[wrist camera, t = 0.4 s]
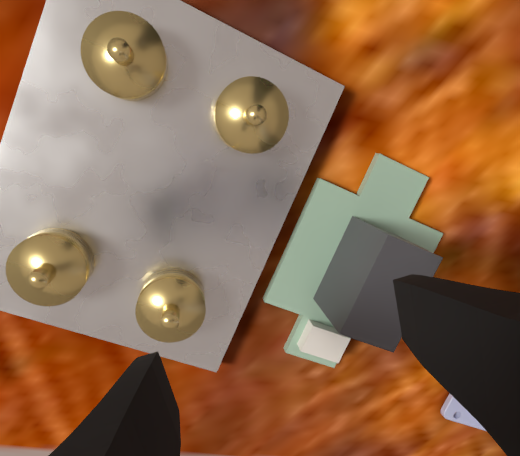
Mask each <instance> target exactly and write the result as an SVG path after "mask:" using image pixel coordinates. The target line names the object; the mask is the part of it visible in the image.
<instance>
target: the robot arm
mask: <svg viewBox="0 0 520 456" xmlns="http://www.w3.org/2000/svg"><path fill="white" fill-rule="evenodd" d="M393 284H394V290H395V297H396V303H397V309H398V315H399V321H400V327H401V333H402V339H403V340H404V342H405V343H406V344H407V346H408V347H409V349H410V350H411V351H412V353H413V354H414V355H415V357H416V358H417V359H418V360H419V362H420V363H421V364H422V365H423V366H424V368H425V369H426V370H427V371H428V372H429V373H430V374H431V375H432V376H433V377H434V378H435V379H436V380H437V381H438V382H439V383H440V384H441V385H442V386H443V387H444V388H445V389H446V390H447V391H448V392H449V393H450V394H449V395H448V397H447V399H446V401H445V403H444V404H443V406H442V408H441V414H442V415H443V416H444V418H446V419H448V420H451V421H454V422H458V423H461V424H464V425H468V426H471V427H474V428H478V429H481V430H484V431H487V432H488V433H489V434H490V435H491V436H492V438H493V439H494V440H495V441H496V442H497V444H498V445H499V446H500V447H501V449H502V450H503V451H504V452H505V453H506V455H507V456H520V293H516V292H509V291H503V290H496V289H490V288H485V287H479V286H474V285H469V284H464V283H459V282H454V281H450V280H445V279H440V278H435V277H429V276H423V275H415V274H411V275H407V276H404V277H401V278H398V279H394V280H393ZM455 412H456V413H455ZM180 447H181V439H180V418H179V409H178V406H177V403H176V400H175V397H174V395H173V392H172V389H171V386H170V383H169V381H168V378H167V375H166V372H165V369H164V367H163V364H162V361H161V358H160V355H159V352H158V351H157V352H154V353H151V354H148V355H144V356H141V357H138V358H136V359H135V360H134V361H133V362H132V364H131V365H130V366H129V367H128V368H127V369H126V371H125V372H124V373H123V374H122V376H121V377H120V378H119V379H118V381H117V382H116V383H115V384H114V385H113V387H112V388H111V389H110V390H109V391H108V393H107V394H106V395H105V396H104V398H103V399H102V400H101V401H100V402H99V404H98V405H97V406H96V407H95V408H94V409H93V410H92V411H91V412H90V414H89V415H88V416H87V417H86V418H85V419H84V420H83V421H82V422H81V424H80V425H79V426H78V427H77V428H76V429H75V430H74V431H73V432H72V433H71V434H70V435H69V436H68V437H67V438H66V439H65V440H64V441H63V442H62V443H61V444H60V445H59V446H58V447H57V448H56V449H55V450H54V451H53V452H52V453H51V454H50V455H49V456H180Z"/></svg>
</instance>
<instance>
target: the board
mask: <svg viewBox="0 0 520 456" xmlns="http://www.w3.org/2000/svg"><path fill="white" fill-rule="evenodd" d="M428 179H429V177H427V176H425V175H423V174H421V173H419V172H417V171H415V170H412V169H410V168H408V167H406V166H404V165H402V164H400V163H398V162H396V161H394V160H392V159H390V158H388V157H386V156H384V155H382V154H378V153H375V156H374V158H373V160H372V162H371V164H370V166H369V168H368V170H367V172H366V175H365V177H364V179H363V181H362V183H361V185H360V187H359V189H358V191H357V194H354V193H351V192H349V191H347V190H345V189H343V188H340V187H338V186H336V185H334V184H331V183H329V182H327V181H325V180H322V179H320V178H317V180H316V182H315V184H314V186H313V188H312V191H311V193H310V195H309V197H308V199H307V202H306V204H305V206H304V208H303V210H302V213H301V215H300V217H299V219H298V221H297V224H296V226H295V228H294V230H293V232H292V235H291V237H290V239H289V241H288V243H287V246H286V248H285V250H284V252H283V254H282V257H281V259H280V261H279V263H278V265H277V268H276V270H275V272H274V274H273V276H272V279H271V281H270V283H269V285H268V288H267V290H266V292H265V294H264V296H263V300H264V302H266V303H269V304H272V305H274V306H277V307H280V308H283V309H286V310H289V311H292V312H295V313H298V314H299V316H298V318H297V320H296V323H295V325H294V327H293V329H292V331H291V333H290V335H289V337H288V340H287V342H286V344H285V346H284V350H285V352H286V353H288V354H292V355H295V356H298V357H301V358H304V359H308V360H311V361H314V362H317V363H320V364H323V365H327V366H330V367H333V368H334V367H335V365H336V363H339V361H340V359H341V357H342V355H343V353H344V351H345V349H346V347H347V345H348V343H349V341H350V339H351V338H353V339H356V340H358V341H361V342H364V343H367V344H370V345H373V346H376V347H379V348H382V349H385V350H388V351H391V352H394V351H395V349H396V347H397V345H398V343H399V341H400V339H401V337H402V333H401V327H400V321H399V315H398V309H397V303H396V297H395V290H394V284H393V280H394V279H398V278H401V277H404V276H407V275H411V274H415V275H423V276H429V277H433V276H434V274H435V272H436V270H437V268H438V266H439V264H440V262H441V260H442V259H443V258H442V257H440V256H438V255H436V254H434V251H435V249H436V247H437V245H438V243H439V241H440V239H441V237H442V235H443V233H441V232H439V231H437V230H434V229H432V228H430V227H428V226H425V225H423V224H421V223H419V222H416V221H414V220H412V219H410V218H409V217H410V215H411V213H412V211H413V209H414V207H415V205H416V203H417V201H418V199H419V197H420V195H421V193H422V191H423V189H424V187H425V185H426V183H427V181H428Z"/></svg>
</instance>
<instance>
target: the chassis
mask: <svg viewBox="0 0 520 456" xmlns="http://www.w3.org/2000/svg"><path fill="white" fill-rule="evenodd" d="M344 87H345V86H343V85H341V84H339V83H337V82H335V81H333V80H332V79H330V78H328V77H326V76H324V75H322V74H320V73H318V72H316V71H314V70H312V69H311V68H309V67H307V66H305V65H303V64H301V63H299V62H297V61H295V60H293V59H291V58H289V57H288V56H286V55H284V54H282V53H280V52H278V51H276V50H274V49H272V48H270V47H268V46H266V45H265V44H263V43H261V42H259V41H257V40H255V39H253V38H251V37H249V36H247V35H245V34H244V33H242V32H240V31H238V30H236V29H234V28H232V27H230V26H228V25H226V24H224V23H222V22H221V21H219V20H217V19H215V18H213V17H211V16H209V15H207V14H205V13H203V12H201V11H199V10H198V9H196V8H194V7H192V6H190V5H188V4H186V3H184V2H182V1H180V0H46V3H45V6H44V9H43V12H42V15H41V19H40V22H39V25H38V28H37V31H36V34H35V37H34V40H33V44H32V47H31V50H30V53H29V56H28V59H27V62H26V66H25V69H24V72H23V75H22V78H21V81H20V84H19V87H18V91H17V94H16V97H15V100H14V103H13V106H12V109H11V112H10V116H9V119H8V122H7V125H6V128H5V131H4V134H3V137H2V141H1V144H0V311H4V312H7V313H11V314H14V315H18V316H21V317H25V318H28V319H32V320H35V321H39V322H42V323H46V324H49V325H53V326H56V327H60V328H63V329H67V330H70V331H74V332H77V333H81V334H84V335H88V336H91V337H95V338H98V339H102V340H105V341H109V342H112V343H116V344H119V345H123V346H126V347H130V348H133V349H137V350H140V351H144V352H147V353H154V352H157V351H158V352H159V355H160V356H161V357H165V358H168V359H172V360H175V361H179V362H182V363H186V364H189V365H193V366H196V367H200V368H203V369H207V370H210V371H214V372H217V370H218V368H219V366H220V364H221V361H222V359H223V357H224V355H225V353H226V350H227V348H228V346H229V344H230V341H231V339H232V337H233V335H234V332H235V330H236V328H237V326H238V324H239V321H240V319H241V317H242V315H243V312H244V310H245V308H246V306H247V303H248V301H249V299H250V297H251V295H252V292H253V290H254V288H255V286H256V283H257V281H258V279H259V277H260V274H261V272H262V270H263V268H264V266H265V263H266V261H267V259H268V257H269V254H270V252H271V250H272V248H273V245H274V243H275V241H276V239H277V237H278V234H279V232H280V230H281V228H282V225H283V223H284V221H285V219H286V216H287V214H288V212H289V210H290V208H291V205H292V203H293V201H294V199H295V196H296V194H297V192H298V190H299V187H300V185H301V183H302V181H303V179H304V176H305V174H306V172H307V170H308V167H309V165H310V163H311V161H312V158H313V156H314V154H315V152H316V150H317V147H318V145H319V143H320V141H321V138H322V136H323V134H324V132H325V129H326V127H327V125H328V123H329V121H330V118H331V116H332V114H333V112H334V109H335V107H336V105H337V103H338V100H339V98H340V96H341V94H342V92H343V89H344Z"/></svg>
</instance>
